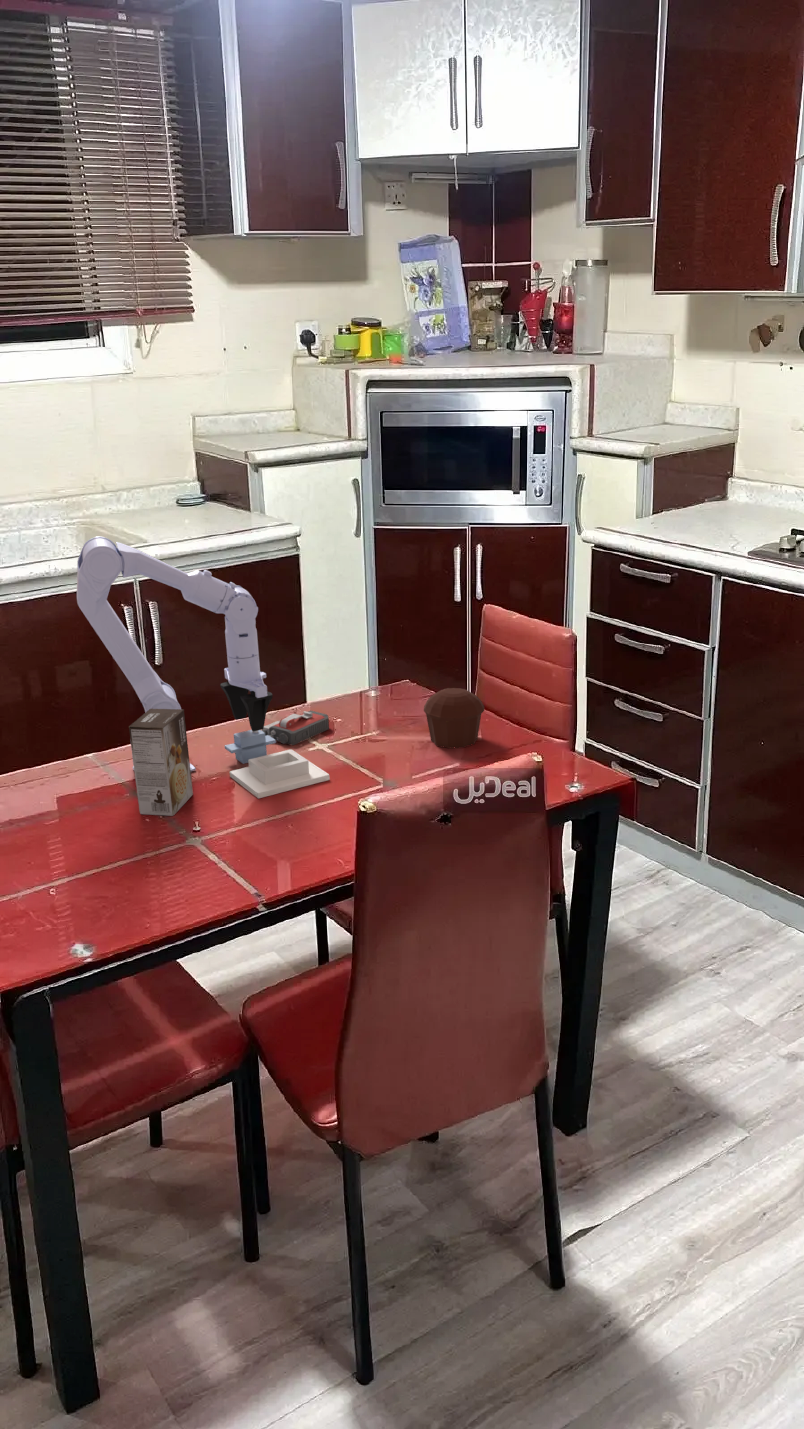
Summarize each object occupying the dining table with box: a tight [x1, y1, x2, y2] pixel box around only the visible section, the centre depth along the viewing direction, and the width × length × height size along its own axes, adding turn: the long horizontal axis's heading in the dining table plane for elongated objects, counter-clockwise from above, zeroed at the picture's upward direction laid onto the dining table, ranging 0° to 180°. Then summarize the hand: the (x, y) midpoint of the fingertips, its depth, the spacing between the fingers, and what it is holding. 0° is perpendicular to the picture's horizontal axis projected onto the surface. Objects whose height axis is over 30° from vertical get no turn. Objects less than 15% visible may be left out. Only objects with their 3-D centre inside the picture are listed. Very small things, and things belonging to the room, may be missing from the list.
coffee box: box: [128, 708, 194, 817], centre depth 197 cm, size 9×6×16 cm
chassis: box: [229, 749, 331, 799], centre depth 208 cm, size 14×12×4 cm
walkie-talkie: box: [261, 710, 330, 746], centre depth 227 cm, size 9×4×20 cm
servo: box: [224, 729, 277, 764], centre depth 217 cm, size 9×3×6 cm, turn 122°
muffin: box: [423, 687, 485, 749], centre depth 222 cm, size 12×11×10 cm
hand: (248, 724), depth 216 cm, fingers open, 7 cm apart
